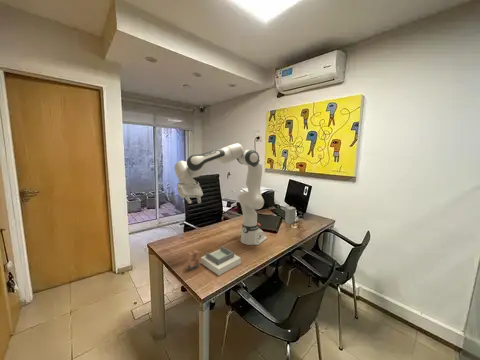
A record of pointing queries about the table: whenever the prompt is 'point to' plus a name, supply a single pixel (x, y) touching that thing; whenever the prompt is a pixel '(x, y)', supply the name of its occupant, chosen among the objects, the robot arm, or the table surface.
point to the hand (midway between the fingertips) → (195, 203)
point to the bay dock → (220, 260)
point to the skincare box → (290, 215)
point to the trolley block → (193, 259)
